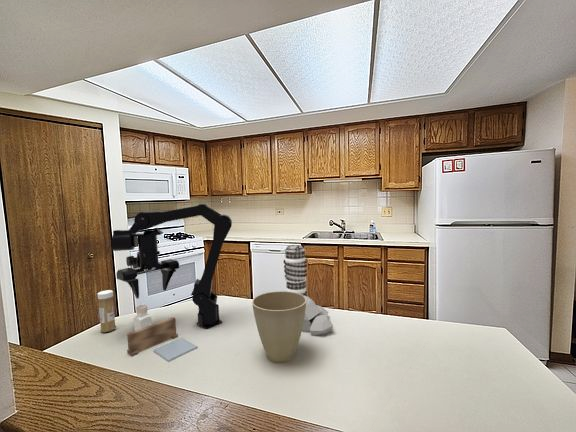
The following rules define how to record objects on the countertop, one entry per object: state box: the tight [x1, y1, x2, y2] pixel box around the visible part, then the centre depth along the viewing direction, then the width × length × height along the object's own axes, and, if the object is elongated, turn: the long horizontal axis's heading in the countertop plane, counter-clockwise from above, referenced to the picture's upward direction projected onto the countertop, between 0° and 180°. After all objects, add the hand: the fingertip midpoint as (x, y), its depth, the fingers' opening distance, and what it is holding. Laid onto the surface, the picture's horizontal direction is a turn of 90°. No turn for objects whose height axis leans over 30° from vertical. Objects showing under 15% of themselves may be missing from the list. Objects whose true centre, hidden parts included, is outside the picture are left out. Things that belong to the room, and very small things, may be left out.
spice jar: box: [97, 289, 117, 333], centre depth 98 cm, size 5×5×13 cm
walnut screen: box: [126, 317, 179, 357], centre depth 87 cm, size 14×3×6 cm, turn 140°
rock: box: [302, 295, 334, 337], centre depth 97 cm, size 18×20×10 cm
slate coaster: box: [152, 337, 198, 363], centre depth 84 cm, size 9×9×1 cm
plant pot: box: [251, 290, 307, 363], centre depth 78 cm, size 15×15×16 cm
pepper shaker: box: [133, 304, 152, 331], centre depth 94 cm, size 4×4×10 cm
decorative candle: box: [283, 244, 308, 296], centre depth 111 cm, size 9×9×25 cm
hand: (151, 294), depth 96 cm, fingers open, 9 cm apart
